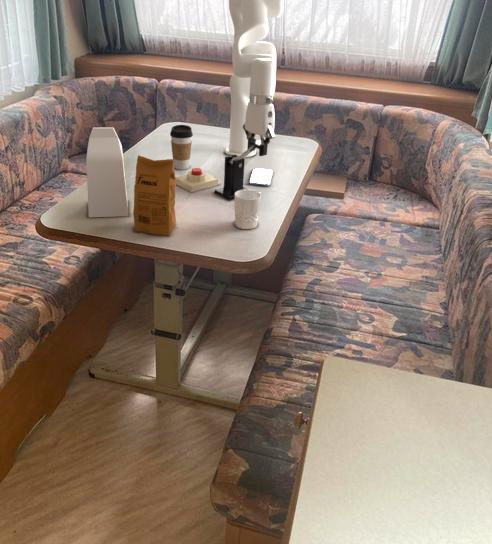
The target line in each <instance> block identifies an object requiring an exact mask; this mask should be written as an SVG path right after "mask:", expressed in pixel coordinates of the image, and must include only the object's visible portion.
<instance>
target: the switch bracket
mask: <svg viewBox="0 0 492 544" xmlns="http://www.w3.org/2000/svg"><path fill="white" fill-rule="evenodd" d="M234 157H236V158H238V157H237V155H225V156H224V170H223V171H224V173H223V187H219V188H217V189H214V191H213V192H214V194H216V195H217V196H220V197H221V198H224V199H226V200H228V201H233V200H235V192H236V191H239V190H244V189H248V188H246V187H244V178H245V164H246V163H245V160H246V159H245V158H246V157H244V158H240V159H236V160H233V168H232V167H230V164H229V161H230V160H231V159H232V158H234Z"/></svg>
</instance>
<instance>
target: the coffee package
mask: <svg viewBox="0 0 492 544" xmlns="http://www.w3.org/2000/svg"><path fill="white" fill-rule="evenodd" d="M175 177H176V172H175V168H174V160H173V158H166V159H156V160H155V159H154V160H153V159H151V158H148V157H145V156H142V155H139V154H138V155H137V158H136V165H135V177H134V178H135V179H134V180H135V181H134V186H133V187H134V189H133V229H134V232H136V233H147V234H148V235H151V236H170V235H171V233H172V232H173V231H174V229H175V228H176V224H177V221H176V209H175V206H176V188H177V187H176V185H177V184H176V179H175Z"/></svg>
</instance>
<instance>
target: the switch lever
mask: <svg viewBox="0 0 492 544" xmlns="http://www.w3.org/2000/svg"><path fill="white" fill-rule="evenodd" d="M249 145H250V146H251V147H250V148H249V149H248V150H246V151H245V152H244V153H243V154H241V155H240V156H239V157H237V158H236V157H234V158H232V159H231V160H230V161H229V164H230V167H232V168H233V160H236V159H240V158H247V157H246V156H247V155H248V154H249V153H250V152H252V151H253V150H254V149H255V150H257V149H258V150H259V147H260V145H257V144H255V143H252V142H250V143H249Z"/></svg>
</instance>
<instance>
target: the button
mask: <svg viewBox="0 0 492 544" xmlns="http://www.w3.org/2000/svg"><path fill="white" fill-rule="evenodd" d="M191 171H192V172H191V174H192V175H195V176H199V175H202V171H203V170H202V168H200V167H193V168H191Z"/></svg>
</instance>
